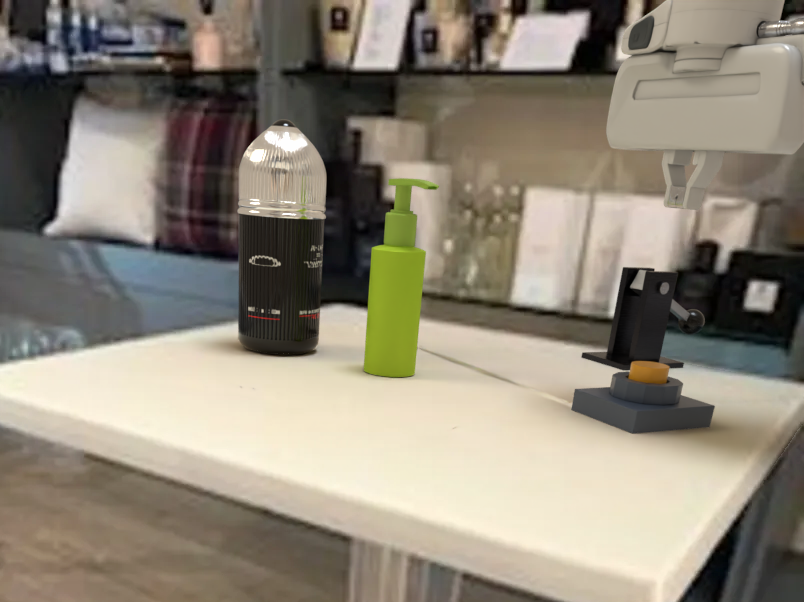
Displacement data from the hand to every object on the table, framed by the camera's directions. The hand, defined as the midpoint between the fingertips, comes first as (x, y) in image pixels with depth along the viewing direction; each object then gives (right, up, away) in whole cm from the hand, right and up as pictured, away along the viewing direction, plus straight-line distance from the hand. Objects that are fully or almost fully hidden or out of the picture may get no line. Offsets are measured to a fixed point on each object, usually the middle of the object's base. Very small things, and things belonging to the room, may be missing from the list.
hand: (681, 208), depth 79 cm
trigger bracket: (+6, -5, +34) cm, 35 cm away
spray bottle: (-39, -4, +30) cm, 49 cm away
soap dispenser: (-25, -9, +21) cm, 34 cm away
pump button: (-1, -14, +7) cm, 16 cm away
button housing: (-1, -17, +8) cm, 19 cm away
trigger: (+10, +1, +33) cm, 34 cm away
